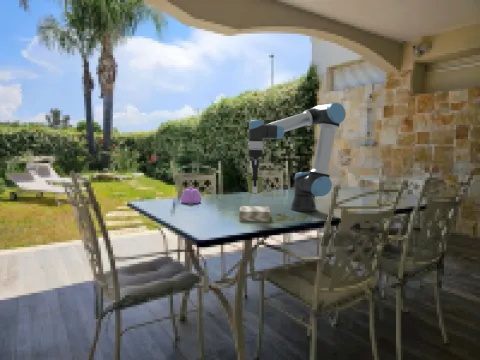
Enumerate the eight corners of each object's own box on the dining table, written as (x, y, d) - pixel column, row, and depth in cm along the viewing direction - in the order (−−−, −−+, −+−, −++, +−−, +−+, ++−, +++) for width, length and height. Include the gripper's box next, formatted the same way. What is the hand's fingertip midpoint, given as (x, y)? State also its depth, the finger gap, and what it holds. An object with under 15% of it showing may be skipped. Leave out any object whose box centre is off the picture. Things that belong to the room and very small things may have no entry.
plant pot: (261, 194, 189) (262, 178, 188) (244, 193, 191) (244, 177, 190) (264, 192, 198) (264, 176, 197) (247, 191, 200) (247, 176, 199)
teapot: (200, 200, 257) (200, 185, 255) (202, 204, 237) (202, 188, 236) (180, 200, 254) (180, 185, 253) (181, 205, 234) (180, 188, 233)
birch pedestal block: (268, 215, 204) (268, 206, 203) (270, 221, 188) (270, 211, 187) (239, 214, 204) (240, 206, 204) (239, 220, 188) (239, 211, 188)
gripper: (248, 149, 203) (247, 189, 205) (248, 149, 182) (247, 194, 184) (261, 149, 203) (260, 189, 205) (263, 149, 182) (262, 194, 184)
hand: (254, 191), depth 195 cm, fingers closed on plant pot, 8 cm apart
